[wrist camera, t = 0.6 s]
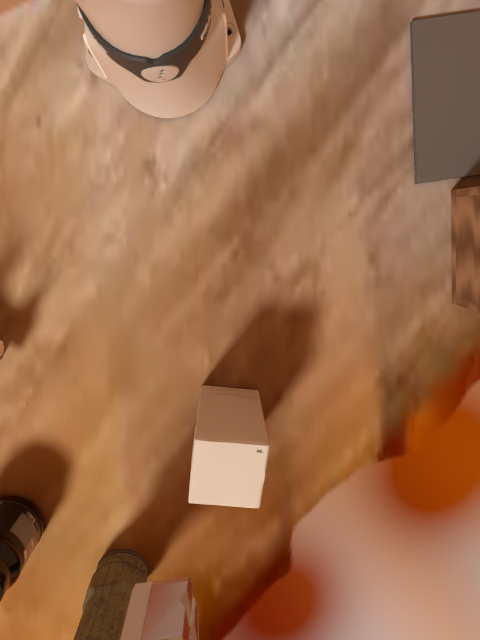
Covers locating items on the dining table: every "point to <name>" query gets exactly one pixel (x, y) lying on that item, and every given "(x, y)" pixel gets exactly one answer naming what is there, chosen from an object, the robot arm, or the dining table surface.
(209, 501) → the supplement box
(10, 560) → the supplement container
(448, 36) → the mat
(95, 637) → the thermos
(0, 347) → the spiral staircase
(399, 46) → the dining table surface
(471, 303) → the crate
